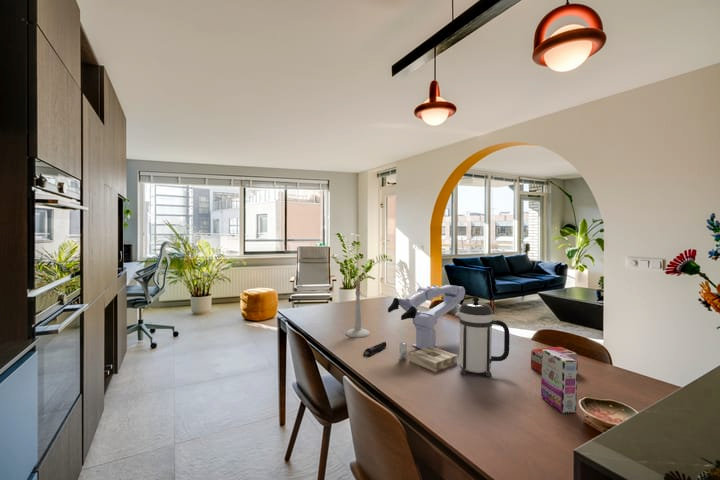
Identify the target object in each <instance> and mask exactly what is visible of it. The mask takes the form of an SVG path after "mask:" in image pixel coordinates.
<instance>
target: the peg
mask: <svg viewBox="0 0 720 480" xmlns="http://www.w3.org/2000/svg"><path fill="white" fill-rule="evenodd" d="M399 361H401V362H406V361H408V343H407V342H399Z"/></svg>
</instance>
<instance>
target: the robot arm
mask: <svg viewBox="0 0 720 480" xmlns="http://www.w3.org/2000/svg"><path fill="white" fill-rule="evenodd" d="M442 294H443V296H442ZM465 295H466V289H465V287H464V286H459V285H452V284H444V285H442V286H438V285H436V284H433V285H432V286H426V287H418V289H417V291H416V292H415V293H413V294H412V295H411V296H408V297H406V298H401V297H400V298H398V297H394V298H393V300H392V302H391V304H390V305H389V306H388V308H387V312H388V313H392V312H393V311H396V310H399V309H400V307H401V309H403V310H404V311H405V312H404V313H402V315H400V316H401V317H400V320H401V321H404V320H407V319H412V324H413V325H414V328H415V343H413V344H411V345H412V347H415V348H418V349H419V350H421V349H425V348H428V347H431V346H432V347H435V348H436V347H437V346H438V344H437V343H436V339H437V337H436V336H437V335H436V334H437V332H436V330H435V328H434V327H435V326H436V325H437V323H438V319H439V318H441V317H443V316H444V315H446V314H448V312H450V311H451V310H454V309H455V307H456V306H457V305H458V303H460V302H461V301H462V300H464V299H465ZM441 296H442V297H443V298H442V300H443V301H442V302H441V303H439V304H437V305H436V306H434V307H432V308H431V309H429V310H426V311H422V310H421V309H419V308H418V307H419V306H421V305H422V304H424V303H425V302H427V301H433V300H434V299H435V298H439V297H441Z"/></svg>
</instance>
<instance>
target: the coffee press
mask: <svg viewBox="0 0 720 480" xmlns="http://www.w3.org/2000/svg"><path fill="white" fill-rule="evenodd" d="M472 300H473V301H465V302H463V303H462V304H461V305H460V307H459V308H458V310H457V312H456V313H455V316H457V317H458V316H459V321H458V323H459V366H460V367H461V371H460V374H461V375H462V376H467V373H469V372H471V373H476V374H484V375H485V376H486V378H488V379H489V378H492V377H493V375H492V372H491V368H492V362H502V361H505V360H506V359H507V358H508V356H509V353H510V329H509V327H508V325H507V323H505V322H504V321H503V320H499V319H493V314H494V310H492V306H490V305H489V304H488V303H485V302H482V301H480V302H479V300H480V298H479V297H478V296H474V297H472ZM493 325H497V326H500V327H502V329H503V330H504V331H503V332H504V334H503V335H504V338H503V339H504V341H503V342H504V344H503V345H504V346H503V347H504V348H503V353H502V354H501V355H499V356H497V355H495V356H494V355H492V339H493V338H492V333H493V332H492V329H493V328H492V327H493Z"/></svg>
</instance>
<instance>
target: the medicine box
mask: <svg viewBox="0 0 720 480" xmlns="http://www.w3.org/2000/svg"><path fill="white" fill-rule="evenodd" d="M543 349H555V350H557V351H559V352H561V353H563V354H565V355H567V356H569V357H571V358H573V359H575V360H577V353H576V352H574V351H573V350H572V351H571V350H569V349H567V348H565V347H562V346H555V347H553V346H552V347H546V348H545V347H544V348H535V349H534V348H533V349H531V353H530V369H532V370H534V369H535V370H534V371H536V370H537V371H536V372H538V373H540V374H541V373H542V350H543ZM577 361H578V360H577Z"/></svg>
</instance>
